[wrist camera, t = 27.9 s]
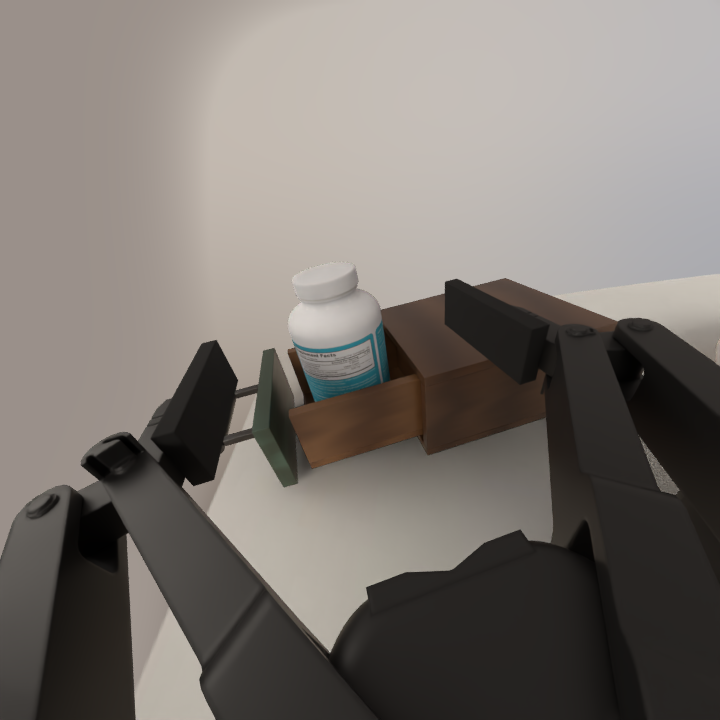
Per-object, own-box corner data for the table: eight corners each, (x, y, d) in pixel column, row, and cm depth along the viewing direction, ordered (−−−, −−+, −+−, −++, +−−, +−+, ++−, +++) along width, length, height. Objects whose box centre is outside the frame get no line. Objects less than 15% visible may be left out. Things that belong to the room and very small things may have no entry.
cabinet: (427, 455, 23) (424, 378, 18) (383, 374, 34) (374, 311, 29) (584, 405, 25) (619, 321, 20) (496, 342, 35) (505, 277, 30)
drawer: (221, 507, 21) (175, 454, 18) (241, 411, 31) (213, 363, 27) (447, 436, 23) (449, 375, 20) (401, 366, 33) (396, 316, 29)
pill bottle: (348, 376, 31) (319, 256, 24) (406, 393, 27) (394, 255, 20) (304, 419, 26) (251, 287, 19) (366, 448, 22) (330, 294, 15)
